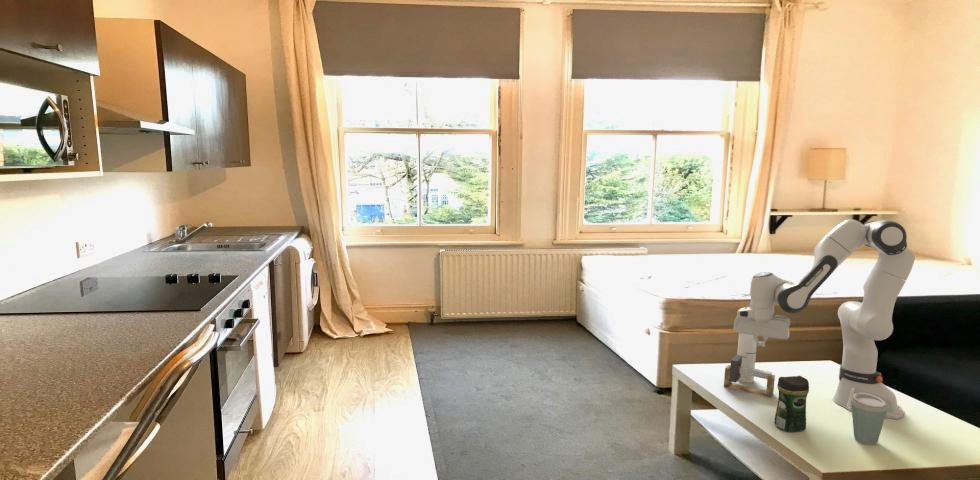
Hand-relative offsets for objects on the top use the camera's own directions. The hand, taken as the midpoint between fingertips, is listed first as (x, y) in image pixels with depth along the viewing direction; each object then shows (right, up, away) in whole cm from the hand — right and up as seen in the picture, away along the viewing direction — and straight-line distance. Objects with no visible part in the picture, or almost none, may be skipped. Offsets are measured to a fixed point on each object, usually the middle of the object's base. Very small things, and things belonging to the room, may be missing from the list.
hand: (760, 346), depth 229 cm
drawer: (-4, -19, +3) cm, 19 cm away
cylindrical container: (0, -17, +15) cm, 23 cm away
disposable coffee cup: (+17, -25, -38) cm, 48 cm away
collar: (-8, -15, +6) cm, 17 cm away
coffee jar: (-4, -23, -29) cm, 37 cm away
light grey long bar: (-3, -12, +2) cm, 13 cm away
